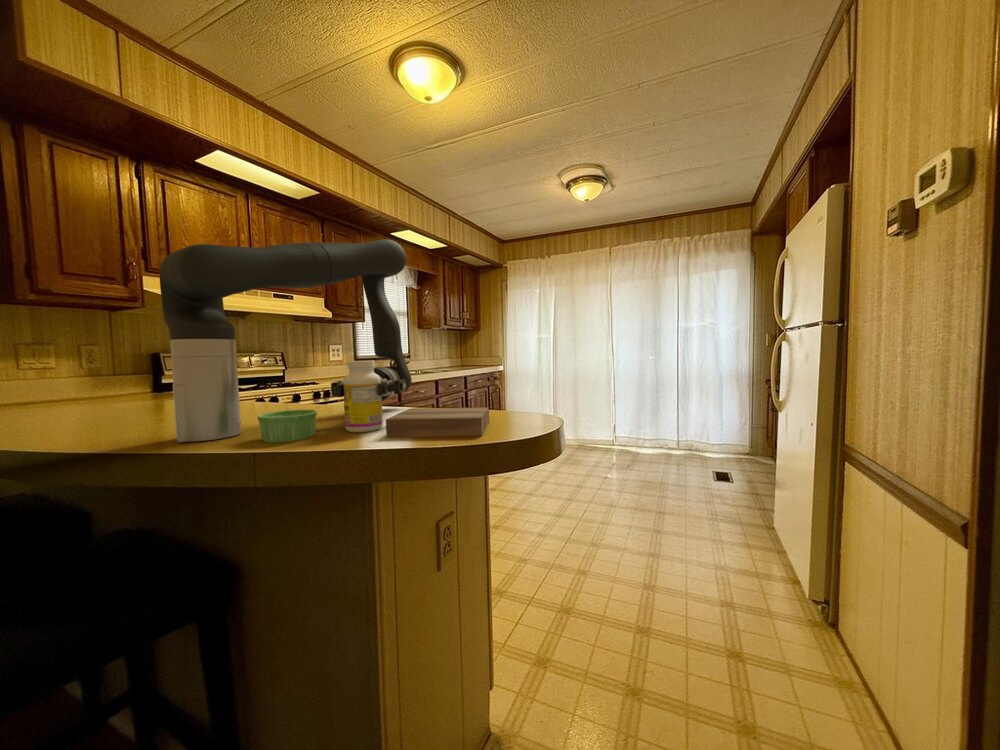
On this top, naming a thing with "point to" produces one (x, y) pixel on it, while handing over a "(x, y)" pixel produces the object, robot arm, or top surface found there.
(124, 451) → the top surface
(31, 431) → the top surface
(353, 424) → the supplement bottle
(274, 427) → the ramekin
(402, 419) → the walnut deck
